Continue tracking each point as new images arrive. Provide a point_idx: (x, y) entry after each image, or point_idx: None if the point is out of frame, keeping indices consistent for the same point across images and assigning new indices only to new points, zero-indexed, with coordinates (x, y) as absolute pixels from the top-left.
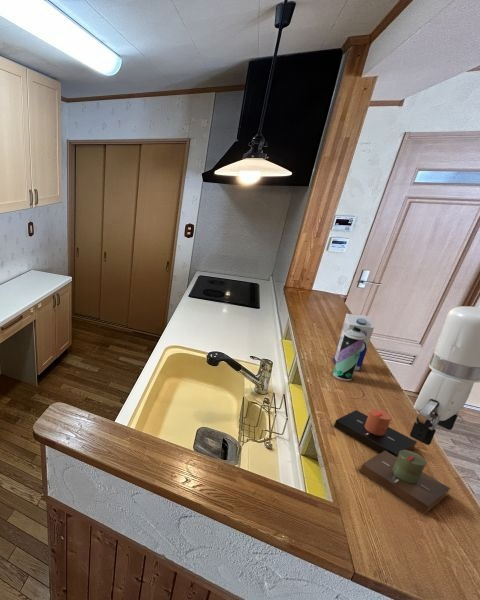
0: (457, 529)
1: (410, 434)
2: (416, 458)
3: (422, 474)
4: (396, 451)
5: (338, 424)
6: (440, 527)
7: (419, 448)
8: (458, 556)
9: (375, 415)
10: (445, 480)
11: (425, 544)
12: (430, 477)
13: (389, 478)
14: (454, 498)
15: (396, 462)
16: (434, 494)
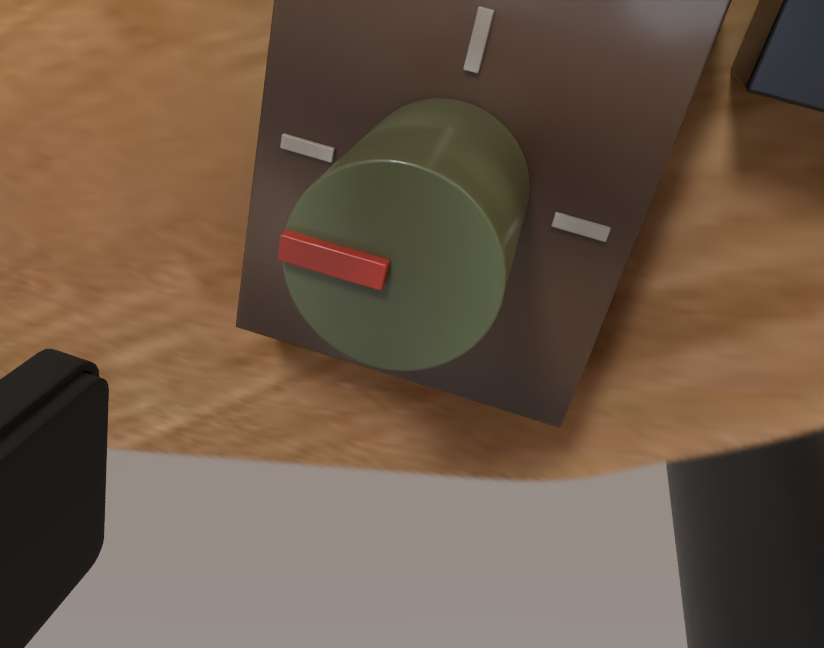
0: (304, 415)
1: (28, 362)
2: (406, 301)
3: (581, 286)
4: (807, 80)
5: None
6: (241, 356)
7: None
8: (121, 410)
9: None
10: (765, 383)
11: (52, 304)
12: (587, 331)
13: (294, 101)
14: (583, 417)
15: (374, 135)
16: None
